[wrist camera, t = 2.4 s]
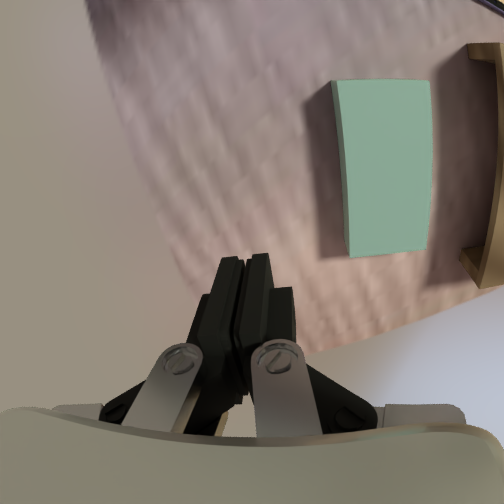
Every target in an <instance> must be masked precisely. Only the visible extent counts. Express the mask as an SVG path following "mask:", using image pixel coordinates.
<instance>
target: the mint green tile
mask: <svg viewBox="0 0 504 504" xmlns="http://www.w3.org/2000/svg"><path fill="white" fill-rule="evenodd" d="M331 88H332V95H333V103H334V111H335V119H336V128H337V137H338V147H339V158H340V170H341V183H342V199H343V219H344V242H345V245H346V248H347V251H348V254H349V257H350V258H355V257H364V256H373V255H382V254H391V253H400V252H409V251H418V250H426V244H427V236H428V227H429V216H430V204H431V188H432V154H433V143H432V110H431V95H430V83H429V81H426V80H415V79H350V80H331Z"/></svg>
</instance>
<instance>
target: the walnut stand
mask: <svg viewBox="0 0 504 504" xmlns="http://www.w3.org/2000/svg"><path fill="white" fill-rule="evenodd" d="M467 48H468V56H469V59H473V60H479V61H484V62H489V63H494V64H495V65H496V75H497V90H498V151H497V166H496V177H495V186H494V195H493V202H492V209H491V215H490V221H489V227H488V232H487V237H486V242H485V246H481V247H473V248H465V249H461V254H460V259H459V261H460V262H461V264H462V265H463V266H464V268H465V269H466V271H467V272H468V273H469V275H470V276H471V278H472V279H473V281H474V282H475V284H476V285H477V287H478V288H479V289H483V288H488V287H493V286H498V285H503V284H504V44H503V43H470V44H467Z"/></svg>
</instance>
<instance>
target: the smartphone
mask: <svg viewBox="0 0 504 504" xmlns="http://www.w3.org/2000/svg"><path fill="white" fill-rule="evenodd" d="M479 1H480V2H482V3H484V4H486V5H488V6H489V7H491V8H493V9H495V10H496V11H498V12H500V13H501V14H503V15H504V0H479Z"/></svg>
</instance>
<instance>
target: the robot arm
mask: <svg viewBox="0 0 504 504" xmlns="http://www.w3.org/2000/svg"><path fill="white" fill-rule="evenodd" d="M248 393H250V395H251V398H252V402H253V404H254V410H255V422H256V434H257V437H256V438H255V437H221V436H222V433H223V430H224V427H225V425H226V422H227V419H228V410H229V409H230V408H232V407H233V406H234V404H242V399H243V395H244V396H245V395H248ZM0 504H504V449H503V447H502V446H501V444H500V443H499V441H498V440H497V438H496V437H495V436H493V435H492V434H491V433H490V432H488V431H487V430H484V429H482V428H479V427H475V426H472V425H467V424H466V419H465V415H464V413H463V412H462V411H461V410H460V408H458V407H455V406H454V405H450V404H426V405H425V404H424V405H406V404H405V405H404V404H386V405H385V407H373V406H372V405H371V404H369V403H368V402H367V401H365V400H364V399H362V398H360V397H359V396H357V395H355V394H353V393H352V392H350V391H349V390H347V389H346V388H344V387H342V386H341V385H339V384H337V383H336V382H334V381H333V380H331V379H330V378H328V377H326V376H325V375H323V374H322V373H320V372H318V371H317V370H315V369H314V368H312V367H311V366H309V365H308V364H306V362H305V357H304V353H303V351H302V349H301V347H300V346H299V345H297V344H296V319H295V307H294V298H293V290H292V287H282V288H274V283H273V277H272V271H271V265H270V259H269V255H268V253H261V254H253V255H252V259H247V262H246V267H245V263H244V260H243V259H242V260H239V259H238V257H237V256H233V257H223V258H222V259H221V261H220V264H219V267H218V270H217V273H216V277H215V280H214V283H213V286H212V289H211V292H210V294H203V295H202V297H201V300H200V302H199V305H198V308H197V311H196V314H195V317H194V320H193V323H192V326H191V329H190V332H189V335H188V338H187V341H186V343H180V344H176V345H173V346H171V347H169V348H168V349H166V350H165V351H164V352H163V353H162V354H161V355H160V356H159V358H158V360H157V361H156V364H155V365H154V367H153V368H152V370H151V372H150V374H149V376H148V377H147V379H146V380H145V381H143V382H141V383H140V384H138V385H136V386H135V387H133V388H131V389H130V390H128V391H126V392H124V393H123V394H121V395H119V396H118V397H116V398H114V399H113V400H111V401H109V402H108V403H107V404H106V405H105V406H103V405H102V404H101V403H100V404H80V405H79V404H78V405H59V406H56V407H54V408H53V409H52V410H50V409H46V408H38V407H19V408H12V409H9V410H6V411H3V412H1V413H0Z"/></svg>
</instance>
